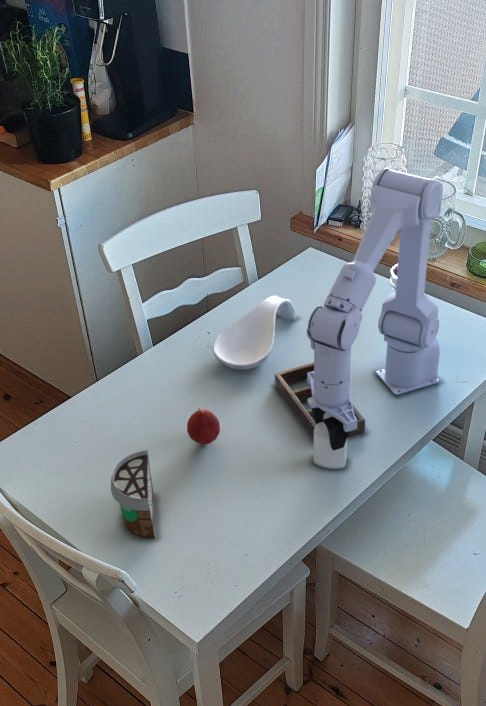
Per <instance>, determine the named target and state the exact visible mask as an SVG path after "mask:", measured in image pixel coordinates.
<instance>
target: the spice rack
mask: <svg viewBox="0 0 486 706" xmlns="http://www.w3.org/2000/svg"><path fill="white" fill-rule="evenodd" d="M312 371H314V362H311V363H307V364H304V365H300V366H297V367H292V368H290V369H286V370H283V371H279V372H276V373H275V372H274V387H275V388H276V389H277V391H278V392H279V394H280V395H281V396H282V398H283V399H284V401H285V402H286V403H287V405H288V406H289V408H290V409H291V411H292V412H293V413H294V414H295V416H296V417H297V419H298V420H299V422H300V423H301V425H302V426H303V427H304V428H305V430H306V431H307V432H308V434H309V436H310V437H311V438H312V440H314V429H315V426H316V423H315V419H314V415H313V412H312V409H311V408H309V409H306V408H305V407H304V405H303V404H304V403H308V401H307V400H306V398H305V395H306V394H307V393H309V392H312V391H311V385H307V386H304V387H301V388H300V387H299V388H297V389H293V390H292V389H291V387H290V385H292V384H296V383H300V382H302V381H307V373H309V372H312ZM352 406H353V411H354V412H355V414H356V415H357V416H358V418H359V420H358V423H357V429H355V430H352V431H350V433H349V435H348V437H347V439H350V438H353V437H356V436H359V435H362V434H365V432H366V418H364V417H363V415H362V414H361V413H360V412H359V410H358V409H357V408H356V406H355V405H354V404H353V403H352Z"/></svg>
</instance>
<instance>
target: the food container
mask: <svg viewBox="0 0 486 706" xmlns="http://www.w3.org/2000/svg"><path fill="white" fill-rule="evenodd" d="M149 458H150V456H149V451H148V449H145V450H140V451H136V452H134V453H131V454H129V455H127V456H126V457H124V458H123V459H121V460H120V461H119V462H118V463H117V464H116V466H115V468H114V470H113V472H112V474H111V478H110V492H111V495H112V497H113V499H114V500H115V501H116V502H117V503H118V505H119V509H120V512H121V516H122V518H123V522H124V525H125V528H126V529H127V530H128V531H129V533H131V534H132V535H133V536H136V537H138V538H141V539H146V540H147V539H149V540H152V539H156V517H155V516H156V515H155V514H156V513H155V512H156V511H155V510H156V509H155V507H156V506H155V493H154V487H153V479H152V474H151V473H152V472H151V466H150V460H149Z"/></svg>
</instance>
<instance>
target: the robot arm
mask: <svg viewBox="0 0 486 706" xmlns="http://www.w3.org/2000/svg"><path fill="white" fill-rule="evenodd" d="M443 192H444V188H443V183H442V182H440V181H439V180H438V179H434V178H426V177H423V176H418V175H415V174H410V173H406V172H402V171H397V170H395V169H392V168H389V167H384V168H382V169H381V170H380V171H378V173H377V174H376V175H375V177H374V179H373V182H372V185H371V190H370V197H369V198H370V199H369V206H370V211H371V214H370V217H369V220H368V222H367V225H366V227H365V230H364V232H363V235H362V236H361V237H362V238H361V239H360V243H359V245H358V248H357V250H356V252H355V256H354V257H353V260H352V261H349V262H347V263H344V264H343V265H342V267H341V269H340V271H339V273H338V274H337V277H336V278H335V281H334V283H333V284H332V287H331V288H330V290H329V293H328V294H327V296H326V299H325V301H324V303H323V304H321V305H318V306H316V307H315V308H314V309H313V311H312V312H311V313H310V314H311V315H310V316H309V319H308V322H307V327H306V336H307V338H308V339H309V340H310V348H311V349H312V350H313V363H314V371H312V372H309V373H307V379H306V382H307V384H308V386H311V391H312V392H309V393H307V394H306V395H305V398H306V400H307V401H308V402H307V404H308V405H309V407H310V409H312V412H313V415H314V419H315V423H316V425H317V424H318V423H321V422H324V424H325V425H326V427H327V430H328V433H329V439H330V445H331V448H332V450H337V449H340V448H344V445H345V443H346V440H347V441H348V438H347V437H348V435H349V433H350V431H352V430H355V429H357V423H358V420H359V418H358V416H357V415H356V414H355V412H354V411H353V406H352V404H353V401H352V396H351V393H350V388H351V387H350V385H351V359H352V357H351V355H352V346H353V344H354V343H355V340H356V339H357V337H358V335H359V330H360V327H361V326H360V325H361V322H362V319H363V314H362V311H363V309H364V307H365V305H366V303H367V301H368V299H369V297H370V295H371V293H372V291H373V289H374V287H375V285H376V283H377V277H376V275H375V269H376V268H377V266H378V265H379V263H380V261H381V260H382V258H383V256H384V254H385V253H386V251H387V250H388V248H389V246H390V245H391V244H392V242H393V240H394V238H395V236H396V235H397V233H398V231H399V242H398V243H399V245H398V256H397V257H398V258H397V264H398V269H397V282H396V292H395V291H394V292H392V293H391V294H389V295H388V296H387V297H386V298H385V299H384V301H383V303H382V305H381V311H380V314H379V317H378V322H377V328H378V332H379V334H381V335H382V336H383V341H384V342H386V352H385V353H386V355H385V365H384V366H385V367H384V368H380V369H378V370H376V371H375V374H376V375H377V376H378V378H379V379H380V380H381V381H382V383H384V384H385V386H386V387H387V388H388V389H389V390H390V391H391V392H392V394H393V395H395V396H399V395H403V394H406V393H409V392H413V391H415V390H419V389H423V388H425V387H429V386H431V385H432V386H433V385H435V384H438V383H439V382H440V380H439V378H438V371H439V363H440V356H441V353H440V351H441V349H440V344H439V341H438V340H437V335H438V332H439V328H440V319H439V307H438V305H437V303H435V302H434V301H433V300H432V299H431V298H430V297H429V296H428V295H427V294H426V293H425V288H426V278H427V269H428V258H429V247H430V238H431V237H430V236H431V227H432V220H436V219H439V218H440V214H441V210H442V202H443ZM326 412H327V413H328V414H330V415H331V416H332V417H329V418H326V419H324V414H325V413H326Z"/></svg>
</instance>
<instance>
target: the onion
mask: <svg viewBox="0 0 486 706" xmlns="http://www.w3.org/2000/svg"><path fill="white" fill-rule="evenodd" d="M220 425H221V424H220V421H219V419H218V417H217V416H216V415H215V414H214V413H213V412H212V411H211V410H208V409H203V407H198V409H197V410H196V411H194V412H193V413H192V414H191V415H190V417H189V418H188V420H187V423H186V431H187V435H188V436H189V438H190V439H191V441H193V442H194V443H196V444H199V445H210V444H211V443H213V442H214V441H216V439H217V438H218V436H219V435H220V432H221V426H220Z"/></svg>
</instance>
